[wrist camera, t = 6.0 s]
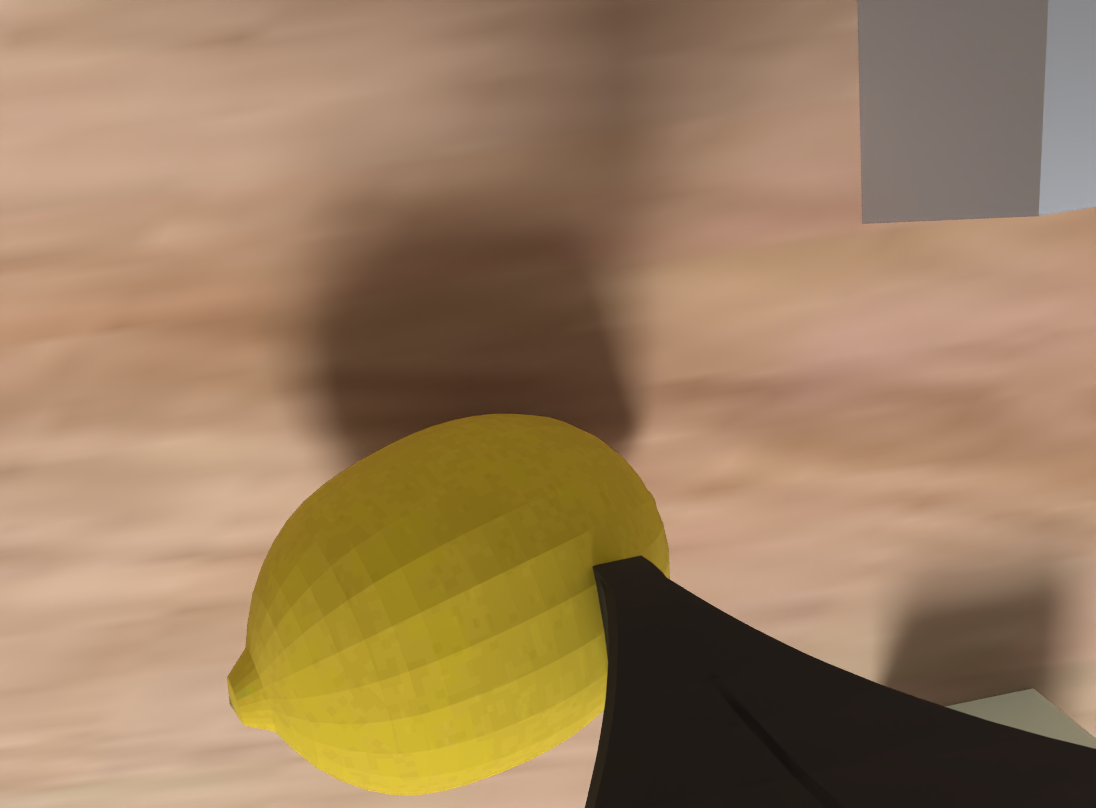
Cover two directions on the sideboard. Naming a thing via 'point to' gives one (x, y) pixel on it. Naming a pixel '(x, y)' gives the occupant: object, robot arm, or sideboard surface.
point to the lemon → (444, 604)
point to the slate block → (976, 108)
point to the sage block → (1028, 716)
